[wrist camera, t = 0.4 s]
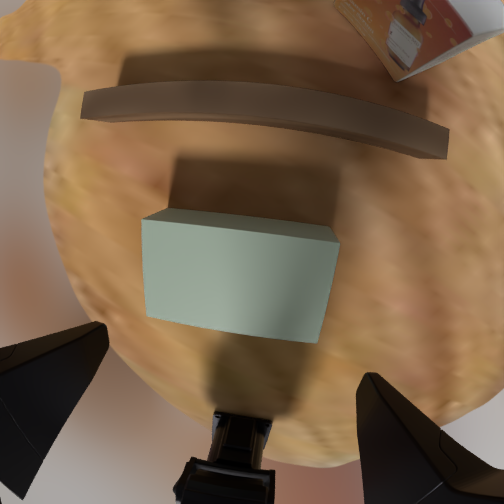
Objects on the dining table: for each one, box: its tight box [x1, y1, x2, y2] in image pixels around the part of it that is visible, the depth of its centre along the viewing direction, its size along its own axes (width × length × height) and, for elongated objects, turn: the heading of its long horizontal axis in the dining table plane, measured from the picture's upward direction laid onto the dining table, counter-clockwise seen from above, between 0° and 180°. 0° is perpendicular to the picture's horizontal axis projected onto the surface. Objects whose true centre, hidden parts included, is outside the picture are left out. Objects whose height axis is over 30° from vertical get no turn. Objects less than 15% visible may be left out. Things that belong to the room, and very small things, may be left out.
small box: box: [334, 0, 504, 82], centre depth 9 cm, size 8×6×10 cm
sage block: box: [142, 208, 340, 343], centre depth 19 cm, size 7×12×4 cm, turn 84°
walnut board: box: [80, 81, 449, 160], centre depth 15 cm, size 2×24×4 cm, turn 83°
